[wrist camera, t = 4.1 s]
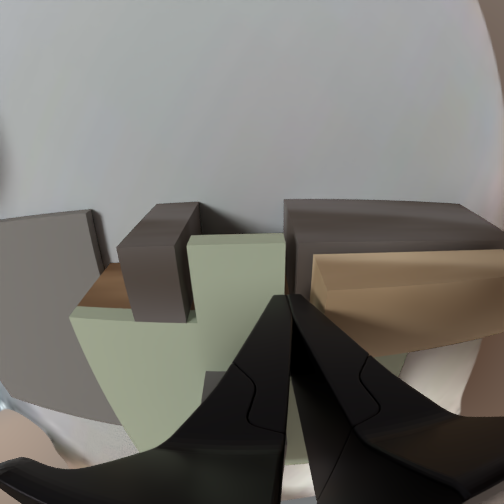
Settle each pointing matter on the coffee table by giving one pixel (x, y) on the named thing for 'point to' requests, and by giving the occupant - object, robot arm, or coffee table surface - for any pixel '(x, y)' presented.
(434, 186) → the coffee table surface
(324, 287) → the wooden block
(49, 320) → the rubber mat
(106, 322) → the toolbox lid
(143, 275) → the toolbox
